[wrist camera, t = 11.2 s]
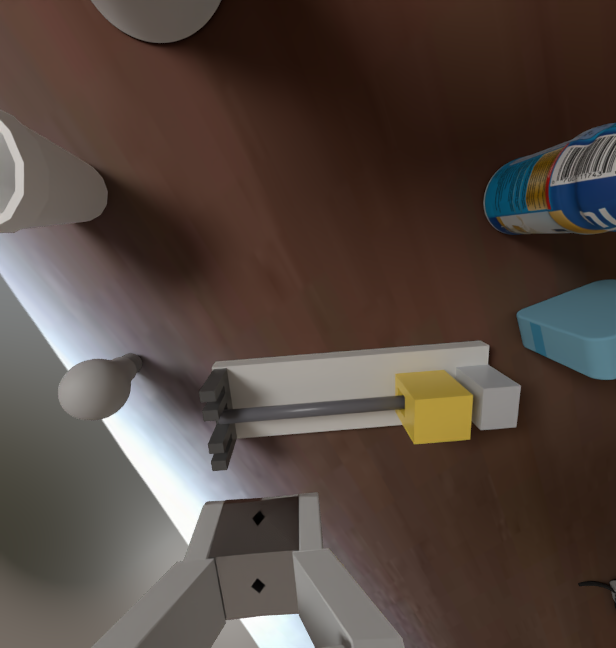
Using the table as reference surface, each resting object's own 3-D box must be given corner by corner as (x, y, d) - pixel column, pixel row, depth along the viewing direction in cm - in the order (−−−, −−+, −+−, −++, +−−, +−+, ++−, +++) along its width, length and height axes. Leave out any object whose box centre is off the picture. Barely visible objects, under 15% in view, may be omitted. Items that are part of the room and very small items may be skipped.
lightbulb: (170, 363, 40) (124, 408, 29) (135, 391, 41) (78, 444, 30) (134, 327, 39) (73, 360, 28) (99, 357, 39) (26, 399, 29)
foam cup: (23, 211, 35) (-130, 194, 22) (45, 127, 33) (-110, 56, 20) (108, 249, 36) (9, 254, 24) (133, 170, 34) (39, 129, 22)
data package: (517, 344, 41) (604, 385, 30) (509, 313, 40) (597, 342, 28) (608, 310, 40) (734, 338, 29) (603, 277, 39) (732, 292, 28)
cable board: (215, 361, 40) (196, 390, 32) (480, 340, 41) (523, 363, 33) (226, 430, 43) (211, 472, 35) (475, 410, 43) (514, 446, 36)
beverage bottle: (534, 141, 35) (829, 18, 16) (563, 209, 37) (856, 173, 18) (467, 187, 36) (666, 123, 17) (498, 250, 38) (708, 259, 19)
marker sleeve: (395, 373, 39) (414, 399, 32) (443, 369, 39) (473, 395, 32) (395, 411, 40) (414, 444, 33) (442, 407, 40) (470, 439, 34)
